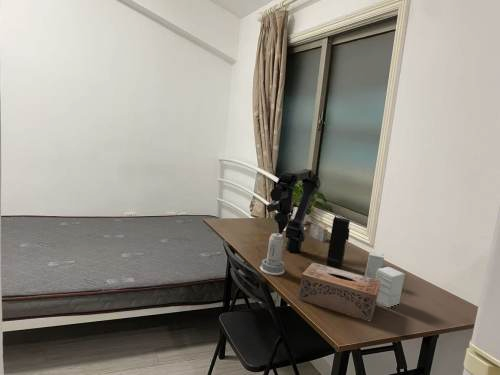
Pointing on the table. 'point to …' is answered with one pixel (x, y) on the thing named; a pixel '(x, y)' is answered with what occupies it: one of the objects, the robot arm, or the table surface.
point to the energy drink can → (275, 249)
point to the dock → (272, 268)
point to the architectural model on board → (318, 232)
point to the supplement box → (389, 286)
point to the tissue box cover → (339, 290)
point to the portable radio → (338, 242)
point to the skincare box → (373, 264)
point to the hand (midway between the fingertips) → (281, 231)
